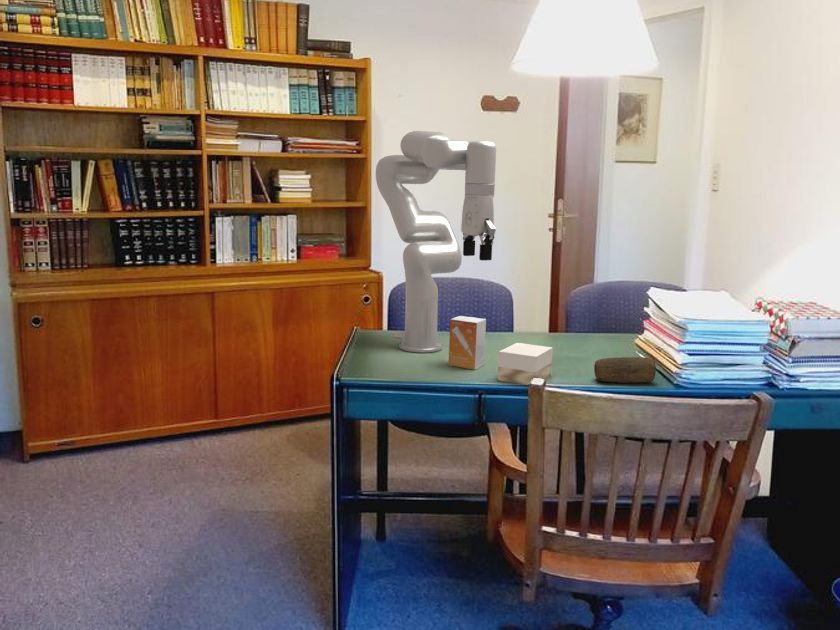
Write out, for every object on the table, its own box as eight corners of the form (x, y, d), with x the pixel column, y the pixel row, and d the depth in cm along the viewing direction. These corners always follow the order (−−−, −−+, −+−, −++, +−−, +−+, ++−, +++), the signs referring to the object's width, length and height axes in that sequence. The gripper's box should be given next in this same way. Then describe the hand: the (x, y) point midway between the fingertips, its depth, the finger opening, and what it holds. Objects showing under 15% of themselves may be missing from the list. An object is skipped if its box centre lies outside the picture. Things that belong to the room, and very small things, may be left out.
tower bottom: (497, 381, 197) (498, 366, 196) (515, 371, 208) (515, 357, 207) (535, 387, 193) (535, 372, 192) (550, 377, 203) (551, 362, 202)
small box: (447, 365, 210) (449, 318, 207) (458, 361, 215) (459, 315, 213) (475, 370, 206) (477, 322, 204) (484, 365, 212) (486, 318, 209)
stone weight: (647, 378, 202) (649, 354, 201) (657, 386, 195) (659, 360, 194) (590, 378, 201) (592, 353, 200) (598, 386, 194) (600, 360, 193)
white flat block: (498, 366, 196) (499, 351, 196) (516, 357, 207) (517, 342, 206) (535, 372, 192) (536, 356, 191) (552, 362, 202) (552, 347, 201)
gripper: (452, 189, 203) (450, 254, 207) (481, 192, 188) (478, 262, 191) (477, 189, 206) (475, 253, 210) (508, 192, 191) (505, 261, 194)
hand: (476, 257), depth 200 cm, fingers open, 9 cm apart
